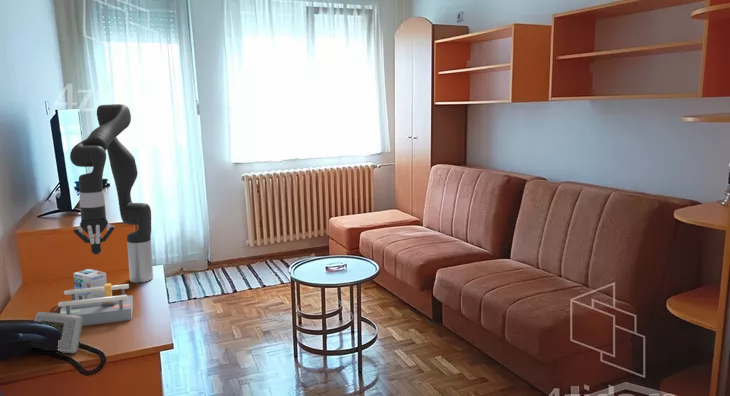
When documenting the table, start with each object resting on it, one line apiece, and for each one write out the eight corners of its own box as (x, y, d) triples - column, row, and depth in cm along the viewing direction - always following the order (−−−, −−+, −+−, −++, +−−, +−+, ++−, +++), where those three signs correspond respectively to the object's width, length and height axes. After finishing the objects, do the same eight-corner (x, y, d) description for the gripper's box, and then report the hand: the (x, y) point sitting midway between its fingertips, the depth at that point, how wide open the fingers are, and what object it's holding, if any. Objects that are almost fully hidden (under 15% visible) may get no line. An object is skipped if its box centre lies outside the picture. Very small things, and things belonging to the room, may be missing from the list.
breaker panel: (65, 313, 184) (63, 289, 183) (133, 305, 192) (131, 282, 191) (58, 328, 172) (56, 303, 170) (131, 319, 180) (129, 295, 178)
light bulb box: (74, 300, 198) (72, 272, 196) (91, 294, 203) (88, 268, 202) (92, 305, 193) (90, 277, 191) (108, 299, 199) (106, 272, 197)
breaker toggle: (103, 302, 184) (101, 283, 183) (115, 300, 185) (114, 282, 184) (102, 306, 180) (100, 287, 179) (114, 304, 182) (113, 285, 180)
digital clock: (27, 349, 157) (23, 316, 155) (55, 337, 165) (52, 305, 164) (64, 359, 151) (60, 325, 149) (91, 347, 159) (88, 314, 157)
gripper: (114, 201, 181) (118, 249, 184) (72, 203, 177) (76, 252, 180) (113, 205, 175) (116, 255, 178) (68, 207, 170) (73, 258, 173)
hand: (96, 253), depth 179 cm, fingers closed
